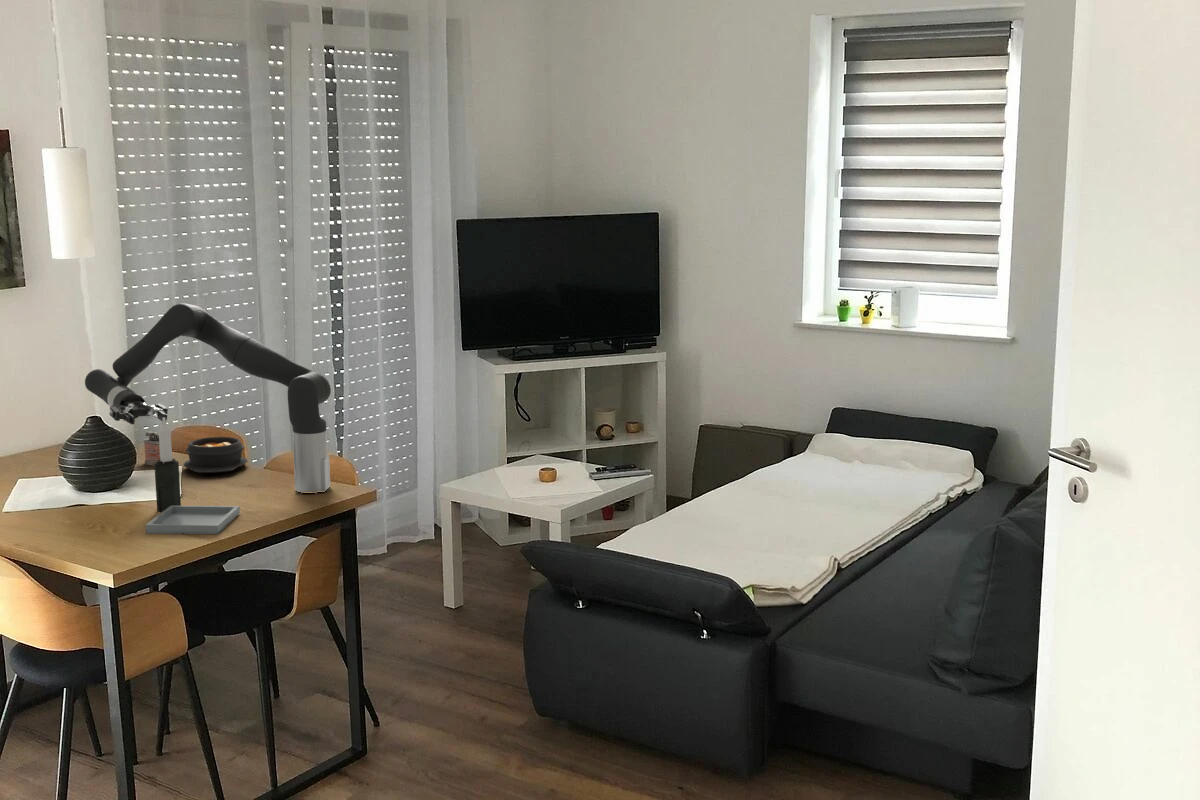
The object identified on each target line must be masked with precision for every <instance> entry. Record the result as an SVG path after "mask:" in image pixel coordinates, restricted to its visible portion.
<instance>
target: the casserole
mask: <svg viewBox="0 0 1200 800" xmlns="http://www.w3.org/2000/svg"><path fill="white" fill-rule="evenodd" d="M244 449H245V446H244V445H243V443H242V442H241V440H240V439H239V438H236V437H231V436H229V437H228V436H212V437H210V436H209V437H203V438H198V439H194V440H192V441H189V443H188V445H187V448H186V449H185V452H186V454H188V460H186V461H184V463H183V466H184V467H185V468H187V469H189V470H191V471H192V472H194V473H200V474H215V473H226V472H233V471H234V470H236V469H237V468H239V467H241V466H244V465H245V464H247V463H248V462H249V461H248V459H247V458H246V457H243V456H242V454H243V453H242V452H243V450H244Z"/></svg>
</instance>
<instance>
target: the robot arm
mask: <svg viewBox="0 0 1200 800" xmlns="http://www.w3.org/2000/svg"><path fill="white" fill-rule="evenodd" d="M179 337H187V338H191V339H192V338H193V339H195V340H197V341H200V342H203V343H205V344H207V345H209V346H211V347H212V348H213V349H215V350H216V351H217V352H218V353H219V354H220V355H221V356H222V357H223V358H224V359H225V360H226V361H227V362H228V363H230V364H231V365H233V366H234V367H236V368H238V369H240V370H241V371H243V372H245V373H246V374H249V375H251V376H254V377H256V378H260V379H264V380H269V381H272V382H275V383H279V384H281V385H283V386H285V387H287V406H288V419H289V422H290V424H291V426H292V443H293V444H292V446H293V470H294V471H293V473H294V474H293V475H294V491H295V490H296V491H299V492H317V491H326V490H327V489H328V488H329V487H330V488H331V470H330V469H331V468H330V464H331V463H330V455H329V454H328V440H327V438H328V436H327V433H328V432H327V421H326V420H325V418H322V417H321V416H320V408H319V405H321V404H323V403H325V402H326V401H327V400H328V399H329V398H330V396H331V393H332V390H331V389H332V388H331V385H330V382H329V380H328V379H327V378H326V376H323V374H322V373H321V374H320V373H319V372H317V371H315V370H312V369H310V368H307V367H305V366H302V365H300V364H298V363H296V362H295V361H292V360H290V359H289V358H287V357H285V356H284V355H282V354H281V353H278V352H277V351H275V350H274V349H271V348H270V347H268V345H267V346H266V345H265V344H264V343H261V342H260V341H258V340H256V339H254V338H253V337H251V336H249V335H247V334H245V333H243V332H241V331H239V330H236V328H235V329H234V328H232V327H230V326H228V325H226V324H224V323H223V322H221V321H220V320H218V319H217V318H215V317H214V316H213V315H211V314H210V313H209V312H208V311H206V310H205V309H204V308H202V307H200V306H197V305H194V304H189V303H183V302H181V303H177V304H174V305H172V307H170V308H169V309H168V310H167V311H166V312H165V313H164V314H163V315H162V317H161V318H160V319H159V320H158V321H157V322H156V324H154V325H153V327H152V328H151V329H150V330H149V331H148V332H147V333H146V334H145V335H144V336H143V337H142V338H141V339H139V340H138V341H137V342H136V343H135V344H134V345H133V346H132V347H130V348H129V349H128V350H126V351H125V352H124V353H123V354H122V355H120V356H118V358H116V359H115V360H114V362H113V363H112V370H113V371H114V373H115V375H117V377H116V378H115V377H114V376H113V375H111V374H110V373H108V371H106V370H103V369H97V368H96V369H93V370H91V371H89V373H88V374H87V375H86V376H85V380H84V386H85V388H86V390H88V391H89V392H90V393H92V394H93V395H95V396H97V398H100V399H101V400H102V401H103V402H104V403H106V404H107V405H108V406H109V416H110V417H111V418H112V419H113V420H114V421H115V422H116V421H117V422H118V421H120V420H122V421H123V422H126V423H128V424H130V425H135V422H136V421H135V420H136V419H137V418H147V419H153V418H157V419H158V420H160V422H162V421H163V420H162V418H163V417H165V418H166V419H165V421H166V422H167V420H168V416H169V415H168V410H169V408H168V407H167V406H165V405H164V404H162V403H161V402H155V404H150V403H146V400H145V399H144V397H143V396H142V395H140V394H139V393H138V392H137V391H135V390H133V389H132V388H131V387H128V386H129V385H130V384H131V382H133V380H134V379H135V378H136V377H137V376H138V375H140V374H141V373H143V371H144V370H146V369H147V368H148V367H149V366H150V365H151V364H152V363H153V362H154V360H155V359H156V357H158V354H159V353H160V352H161V350H162V349H163V348H164V347H166V345H168V344H169V343H170V342H172V341H175V339H177V338H179ZM330 488H329V489H330ZM329 489H328V490H329ZM328 490H327V491H328ZM296 491H295V492H296Z"/></svg>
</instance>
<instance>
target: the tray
mask: <svg viewBox="0 0 1200 800" xmlns="http://www.w3.org/2000/svg"><path fill="white" fill-rule="evenodd" d="M240 508H241V507H240V505H181V506H170V507H168V508H167V509H166V510H164V511H163V512H159V513H160V514H157V515H156V516H155V517H154V518H152V519H151V520H150V521H149V522H148V523H146V524H145V534H149V535H150V534H153V535H154V534H155V535H156V534H158V535H159V534H162V535H163V534H164V535H165V534H166V535H167V534H169V535H170V534H171V535H174V534H176V535H177V534H178V535H181V534H182V533H184V534H182V535H219V534H221V532H223V530H225V529H226V528H227V527H228V526H229V525H230V524H231V523H232V522H233V521H234V520H235V519H236V518H237V517H239V516H238V514H239V513H240V514H241V509H240ZM236 516H237V517H236ZM235 517H236V518H235ZM234 518H235V519H234ZM233 519H234V520H233ZM232 520H233V521H232ZM231 521H232V522H231ZM230 522H231V523H230ZM229 523H230V524H229ZM228 524H229V525H228ZM227 525H228V526H227ZM226 526H227V527H226ZM225 527H226V528H225ZM224 528H225V529H224Z"/></svg>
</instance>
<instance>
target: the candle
mask: <svg viewBox="0 0 1200 800" xmlns="http://www.w3.org/2000/svg"><path fill="white" fill-rule="evenodd" d="M165 419H166V418H165V417H163V418H162V420H163V421H161V425H160V427H159V429H158V433H159V445H160V460H157V463H156V464H154V465H153V466H154V478H155V481H154V482H155V496H156V512H159V513H162V512H163V511H164V510H166V509H167V508H168V507H170V506H182V502H181V486H180V485H181V483H180V467H179V466H180V465H179V461H178V460H176V459H175V458H173V452H172V436H171V435H172V433H171V429H170V427H169V426H168V423H167V420H166V421H165Z"/></svg>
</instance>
